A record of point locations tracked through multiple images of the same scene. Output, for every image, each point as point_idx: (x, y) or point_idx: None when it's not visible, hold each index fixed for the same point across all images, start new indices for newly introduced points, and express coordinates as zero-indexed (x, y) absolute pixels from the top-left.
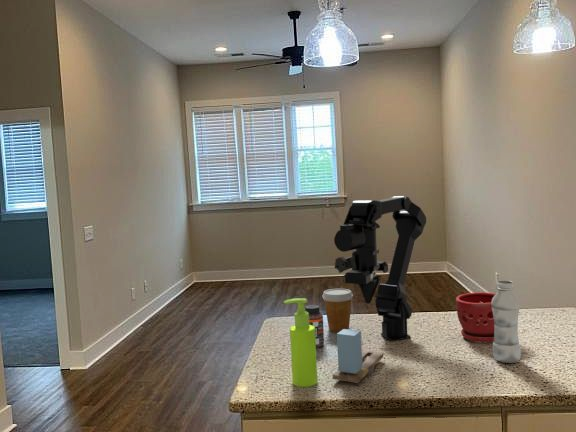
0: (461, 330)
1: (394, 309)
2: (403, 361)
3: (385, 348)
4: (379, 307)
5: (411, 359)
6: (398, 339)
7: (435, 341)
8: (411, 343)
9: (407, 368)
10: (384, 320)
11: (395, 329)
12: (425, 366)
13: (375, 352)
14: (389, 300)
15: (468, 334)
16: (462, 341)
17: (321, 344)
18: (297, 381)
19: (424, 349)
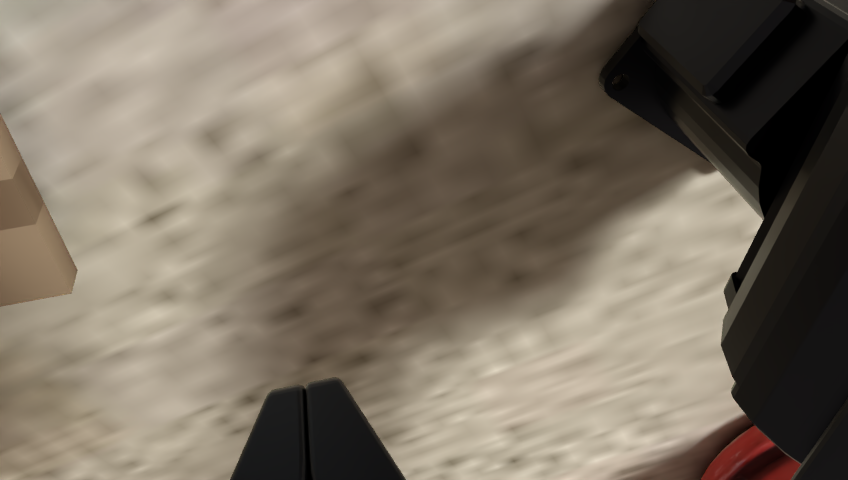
0: None
1: (725, 349)
2: (183, 346)
3: (385, 115)
4: (837, 131)
5: (255, 363)
6: (643, 115)
7: (681, 321)
8: (592, 224)
9: (79, 414)
10: (795, 43)
11: (697, 135)
12: (191, 459)
13: (28, 240)
14: (842, 377)
15: (747, 471)
16: (714, 419)
17: None
18: None
19: (492, 338)
